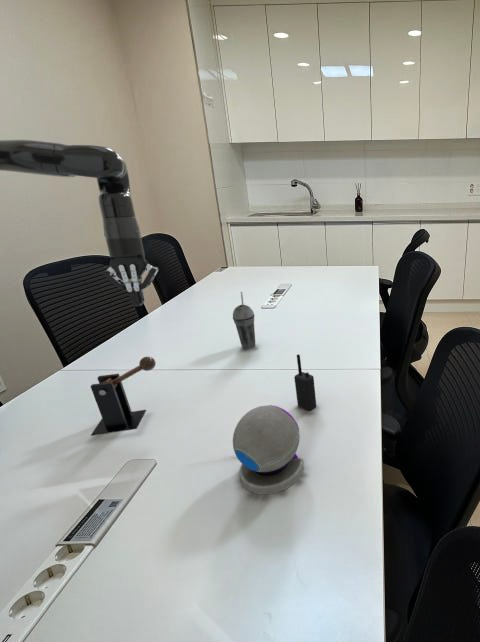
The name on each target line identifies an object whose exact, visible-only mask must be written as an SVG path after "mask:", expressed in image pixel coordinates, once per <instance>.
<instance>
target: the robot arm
mask: <svg viewBox="0 0 480 642" xmlns="http://www.w3.org/2000/svg"><path fill="white" fill-rule="evenodd" d="M0 171H5V172H13V173H14V172H15V173H23V174H32V175H40V176H48V177H49V176H50V177H62V178H74V177H85V178H93V179H96V182H97V186H98V192H99V194H98V206H99V210H100V214H101V218H102V229H103V232H104V233H103V235H104V238H105V241H106V245H107V250H108V254H109V258H110V262H109V267H108V268H107V269H106V270H104V271H102V273H101V274H102V276H104V278H105V279H107V280H108V281H109V282H111V283H112V285H114V286H115V287H116V288H117V289H119V290H120V291H125V292H127V293H128V297H129V301H130V304H131V305H133V306H134V307H141V306H143V304H144V303H145V302H146V301H145V296H144V292H143V291H144V290H145V289H146V288H149V287H150V286H151V284H152V283H153V281H154V279H155V277H156V276H157V274H158V272H159V270H160V269H159V267H157V266H153V265H151V264H150V263H149V260H148V259H147V258H146V255H145V250H144V245H143V241H142V235H141V230H140V226H139V223H138V220H137V217H136V212H135V206H134V202H133V200H132V195H131V184H130V176H129V171H128V167H127V164H126V162H125V160H124V159H123V158H122V157H121V156H120V155H119V154H118V153H117V152H116V151H115V150H114V149H112V148H109V147H106V146H100V145H92V144H91V145H90V144H64V143H59V142H52V141H42V140H33V139H0ZM145 272H146V274H147V275H146V276H145V278H144V280H143V275H144V273H145ZM119 276H120V277H121V278H122V279H121V278H119Z"/></svg>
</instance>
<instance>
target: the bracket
mask: <svg viewBox="0 0 480 642" xmlns="http://www.w3.org/2000/svg"><path fill="white" fill-rule="evenodd" d="M119 376H120V373H113V374H104V375H98V377H97V381H98V383H92V384H91V385H90V389H91V392H92V395H93V398H94V400H95V403H96V406H97V408H98V410H99V414H100V416H101V419H100V420H99V422H98V423H97V425H96V427H95V428H94V430H93V431H92V433H91V434H90V436H97V435H103V434H110V433H117V432H124V431H130V430H136V429H138V427H139V425H140V424H141V421H142V420H143V418H144V416H145V414H146V412H147V409H140V410H135V411H132V409H131V406H130V403H129V399H128V397H127V394H126V390H125V387H124V384H123V381H121V382H119V383H117V386H116V388H115V387H114V384H113V382H107V383H102V382H103V381H105V380H107V379H109V378H111V379H112V380H114V379H116V378H118V377H119Z"/></svg>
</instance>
